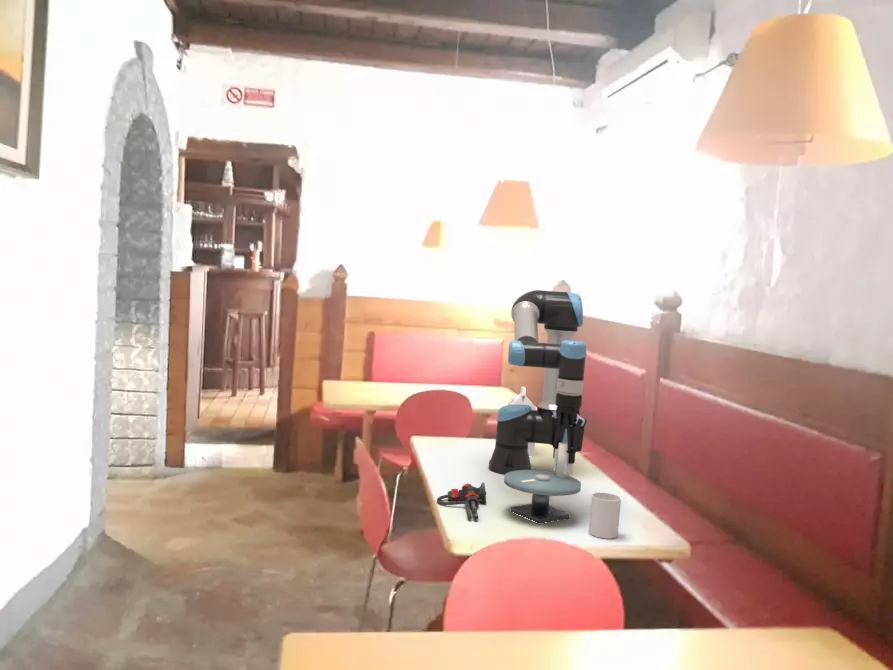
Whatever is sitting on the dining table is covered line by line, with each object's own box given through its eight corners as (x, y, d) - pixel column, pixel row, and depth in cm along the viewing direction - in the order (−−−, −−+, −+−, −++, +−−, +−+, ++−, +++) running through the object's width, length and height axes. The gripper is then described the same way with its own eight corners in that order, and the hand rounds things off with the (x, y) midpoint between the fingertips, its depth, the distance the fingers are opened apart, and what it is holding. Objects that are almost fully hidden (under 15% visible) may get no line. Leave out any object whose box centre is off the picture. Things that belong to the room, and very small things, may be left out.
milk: (534, 457, 301) (539, 390, 300) (504, 454, 302) (510, 388, 300) (531, 450, 313) (536, 386, 312) (502, 448, 313) (508, 384, 312)
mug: (622, 539, 208) (625, 501, 207) (593, 538, 207) (597, 500, 206) (606, 524, 220) (609, 488, 219) (579, 524, 219) (582, 487, 218)
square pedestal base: (510, 512, 225) (512, 482, 225) (540, 507, 233) (542, 478, 232) (538, 524, 216) (541, 493, 215) (568, 518, 223) (571, 488, 222)
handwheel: (540, 499, 208) (544, 456, 207) (488, 479, 226) (491, 439, 225) (596, 491, 221) (600, 451, 221) (543, 472, 239) (546, 435, 238)
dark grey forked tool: (436, 500, 240) (485, 496, 240) (439, 531, 214) (493, 526, 215) (435, 480, 239) (483, 476, 240) (437, 509, 213) (492, 504, 214)
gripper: (540, 389, 231) (533, 466, 233) (581, 398, 218) (574, 480, 219) (558, 388, 235) (551, 464, 237) (599, 397, 222) (592, 478, 224)
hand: (562, 472), depth 228 cm, fingers closed on handwheel, 4 cm apart
